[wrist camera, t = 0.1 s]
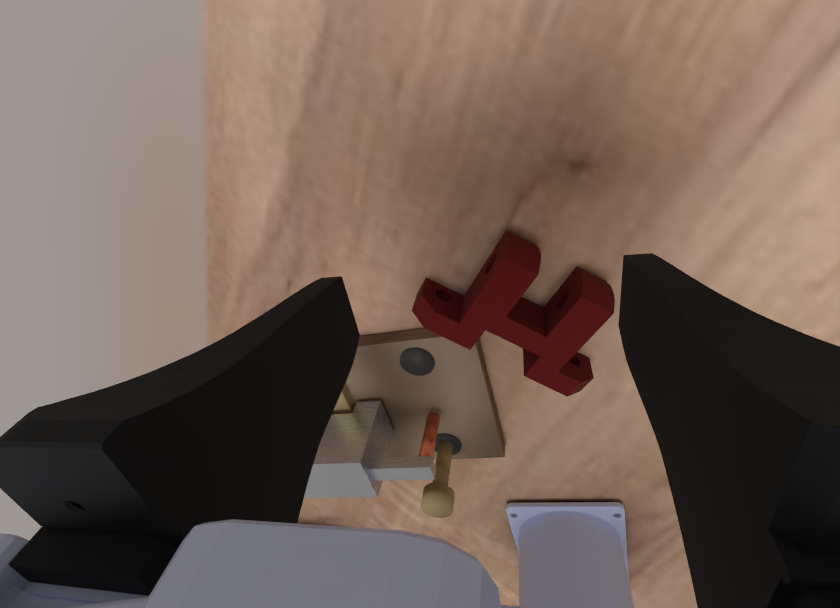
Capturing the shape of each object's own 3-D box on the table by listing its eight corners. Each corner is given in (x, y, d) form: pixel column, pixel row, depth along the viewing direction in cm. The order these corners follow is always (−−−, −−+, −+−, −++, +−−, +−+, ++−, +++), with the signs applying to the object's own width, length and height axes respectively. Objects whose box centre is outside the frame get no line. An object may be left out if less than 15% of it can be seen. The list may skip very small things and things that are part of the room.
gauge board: (328, 452, 33) (299, 522, 29) (270, 347, 28) (224, 412, 24) (504, 444, 30) (503, 524, 25) (474, 322, 24) (465, 394, 20)
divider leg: (325, 437, 30) (299, 498, 27) (308, 406, 29) (278, 465, 25) (447, 431, 28) (438, 496, 24) (435, 396, 26) (423, 460, 23)
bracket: (408, 320, 22) (582, 403, 23) (462, 228, 19) (660, 329, 20) (418, 290, 24) (575, 366, 26) (467, 203, 21) (645, 294, 22)
